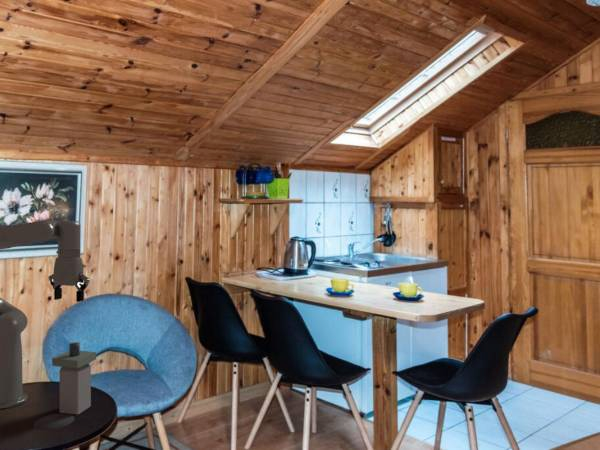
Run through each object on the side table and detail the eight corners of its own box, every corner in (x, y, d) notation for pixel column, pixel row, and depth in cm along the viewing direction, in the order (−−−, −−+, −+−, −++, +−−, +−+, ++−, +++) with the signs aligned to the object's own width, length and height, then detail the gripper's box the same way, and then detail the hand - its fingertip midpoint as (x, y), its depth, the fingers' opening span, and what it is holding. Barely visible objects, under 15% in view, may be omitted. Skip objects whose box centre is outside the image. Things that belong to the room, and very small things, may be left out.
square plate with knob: (52, 365, 164) (52, 346, 164) (71, 356, 173) (71, 338, 173) (77, 368, 162) (77, 348, 161) (96, 359, 171) (95, 340, 171)
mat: (24, 429, 154) (24, 427, 154) (51, 413, 166) (51, 411, 166) (57, 433, 151) (57, 431, 151) (82, 417, 163) (82, 415, 163)
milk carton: (77, 416, 164) (77, 360, 163) (59, 414, 165) (59, 359, 165) (90, 407, 171) (90, 354, 170) (73, 405, 172) (72, 352, 172)
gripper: (42, 253, 177) (41, 300, 178) (82, 256, 173) (81, 303, 173) (57, 252, 184) (57, 296, 185) (96, 254, 180) (95, 300, 180)
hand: (69, 300), depth 179 cm, fingers open, 9 cm apart
